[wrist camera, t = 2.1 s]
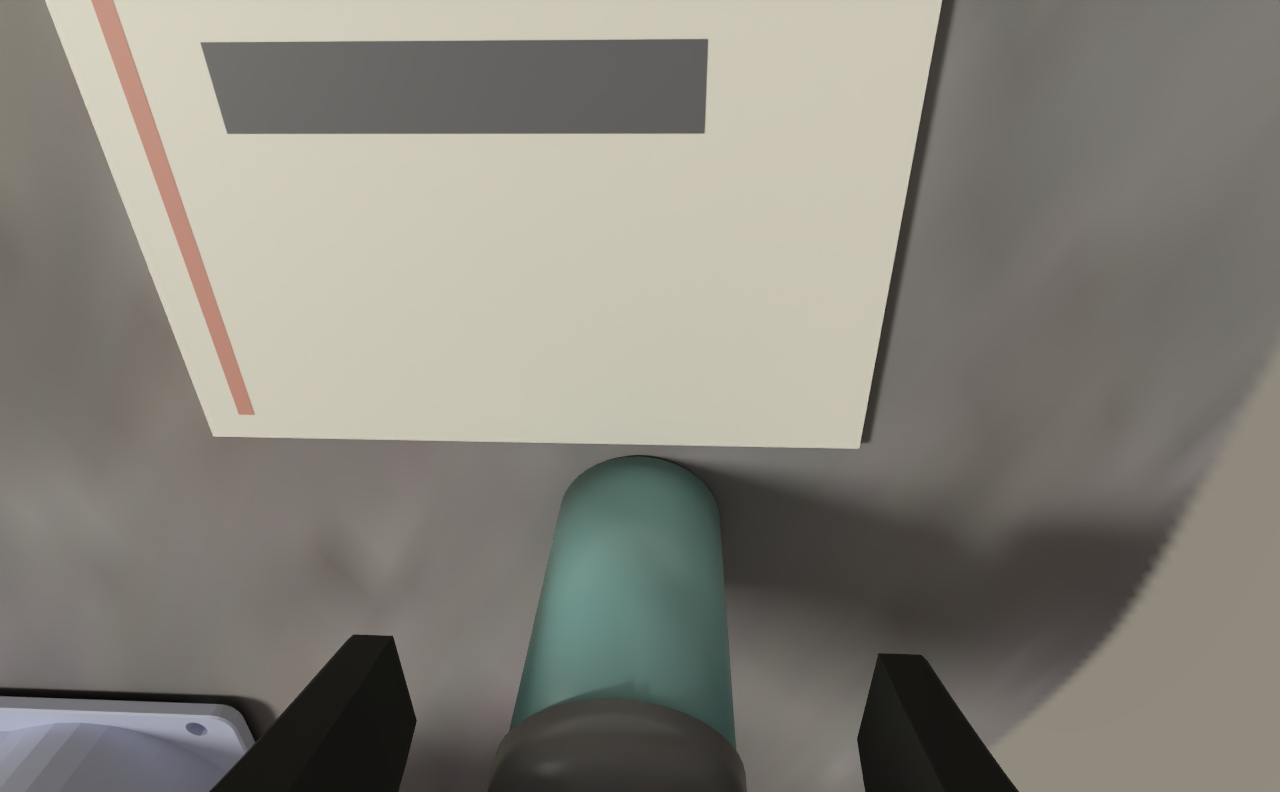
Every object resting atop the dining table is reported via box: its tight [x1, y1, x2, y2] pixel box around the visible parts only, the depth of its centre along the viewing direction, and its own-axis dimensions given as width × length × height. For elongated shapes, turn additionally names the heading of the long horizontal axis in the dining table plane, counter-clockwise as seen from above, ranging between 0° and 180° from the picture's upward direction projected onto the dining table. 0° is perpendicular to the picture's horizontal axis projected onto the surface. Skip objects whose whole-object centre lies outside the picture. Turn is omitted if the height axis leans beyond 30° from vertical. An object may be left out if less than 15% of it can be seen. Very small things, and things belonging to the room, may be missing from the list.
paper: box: [45, 0, 942, 449], centre depth 10 cm, size 12×12×1 cm
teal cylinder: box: [487, 456, 747, 792], centre depth 11 cm, size 3×3×6 cm
